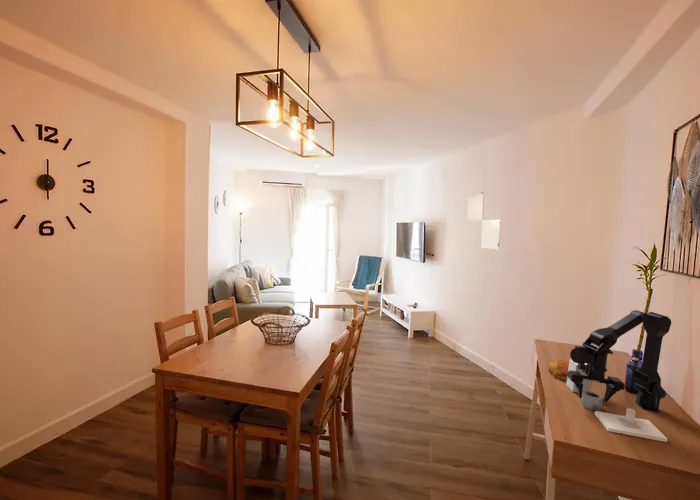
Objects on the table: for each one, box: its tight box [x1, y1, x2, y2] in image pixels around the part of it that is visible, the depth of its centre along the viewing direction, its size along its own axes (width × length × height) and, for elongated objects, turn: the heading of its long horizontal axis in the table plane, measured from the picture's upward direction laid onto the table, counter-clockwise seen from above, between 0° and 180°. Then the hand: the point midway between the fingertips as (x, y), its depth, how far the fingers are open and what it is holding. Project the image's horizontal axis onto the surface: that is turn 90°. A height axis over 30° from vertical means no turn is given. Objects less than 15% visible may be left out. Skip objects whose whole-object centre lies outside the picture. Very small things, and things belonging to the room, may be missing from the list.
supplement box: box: [565, 358, 593, 394], centre depth 160 cm, size 7×7×13 cm
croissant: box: [547, 359, 569, 382], centre depth 174 cm, size 14×16×8 cm
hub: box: [581, 390, 604, 412], centre depth 146 cm, size 6×6×5 cm
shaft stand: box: [594, 407, 668, 443], centre depth 132 cm, size 18×12×7 cm, turn 76°
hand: (592, 399), depth 146 cm, fingers open, 9 cm apart
